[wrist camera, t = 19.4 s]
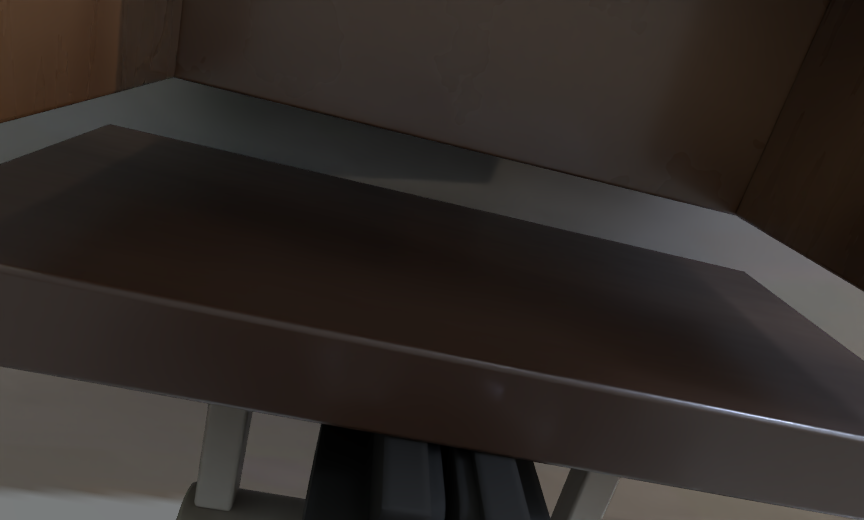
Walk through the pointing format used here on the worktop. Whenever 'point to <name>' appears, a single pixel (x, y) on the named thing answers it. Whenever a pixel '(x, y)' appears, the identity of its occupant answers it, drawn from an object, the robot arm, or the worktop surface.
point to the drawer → (453, 236)
